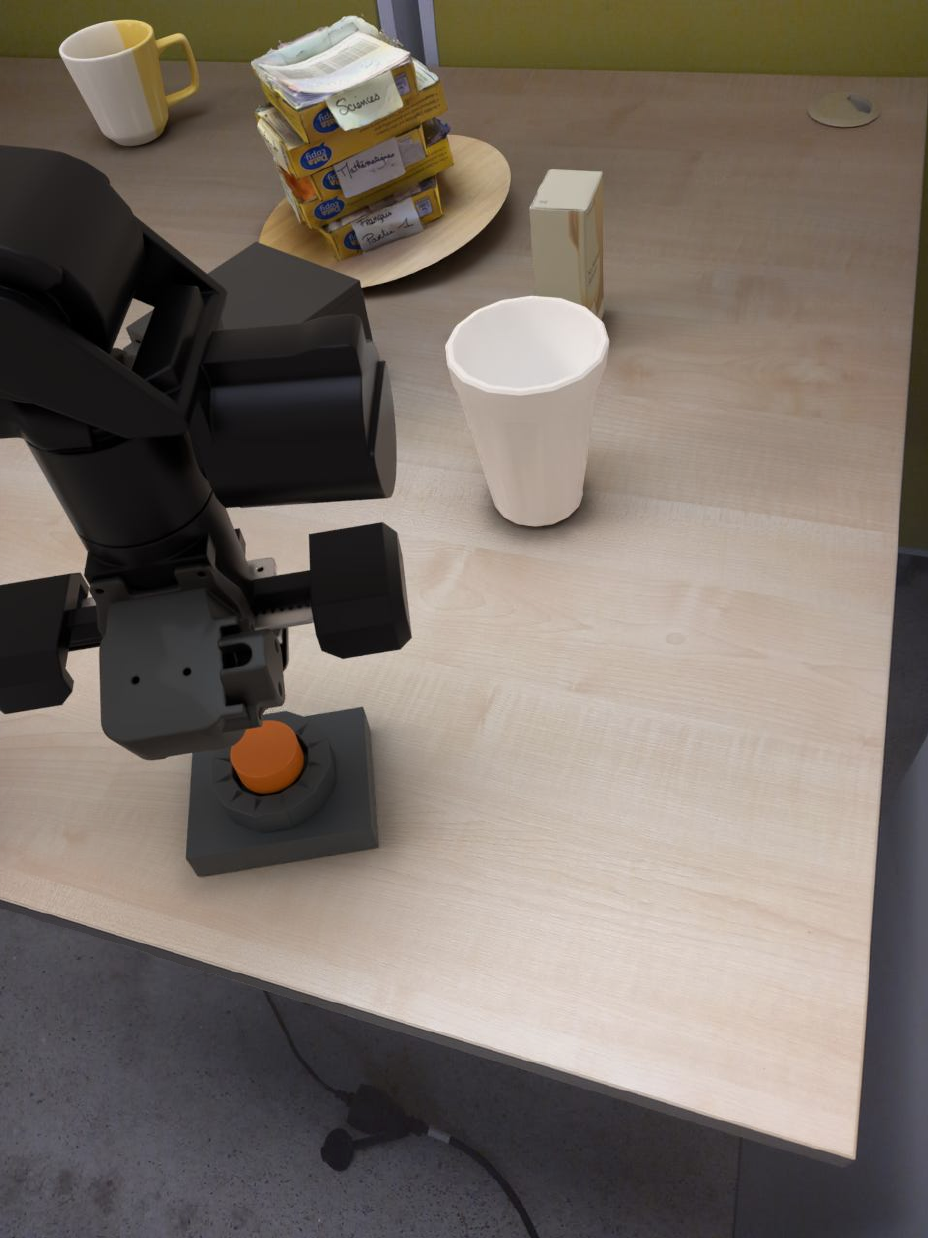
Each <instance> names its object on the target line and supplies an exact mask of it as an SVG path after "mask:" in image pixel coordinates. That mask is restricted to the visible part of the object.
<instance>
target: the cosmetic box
mask: <svg viewBox="0 0 928 1238" xmlns="http://www.w3.org/2000/svg"><path fill="white" fill-rule="evenodd" d="M603 178H604V175H603V171H601V170H579V169H578V170H577V169H559V168H558V169H557V168H551V169H548V170H547V172H546V174H545V176H544V178H543V180H542V182H541V183H540V185H539V187H538V189H537V192H536V193H535V196H534V197H533V200H532V201H531V204H530V206H529V225H530V240H531V242H530V243H531V256H532V271H533V288H534V296H541V297H554V298H562V299H565V300H567V301H570V302H573V303H576V304H579V305H581V306H584V307H586V308H587V309H588V310H590V311H591V312H592V313H593V314H594V315H595V316H596V317H598V318H599V319H600V320H601V321H603V320H602V319H603V317H604V314H605V312H604V311H605V297H604V294H605V293H604V291H605V289H604V285H605V284H604V188H603V187H604V186H603V185H604V184H603V183H604V181H603V180H604V179H603Z"/></svg>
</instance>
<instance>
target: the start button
mask: <svg viewBox="0 0 928 1238" xmlns="http://www.w3.org/2000/svg"><path fill="white" fill-rule="evenodd" d="M230 758H231V762H232V765H233V767H234V768H235V770H236V772H237V774H238V776H239V778H240V780H241V781H242V783H243V784H244V786H245V787H247V788H248V789H249V790H251V791H253V792H256V793H261V794H270V793H275V792H278V791H281V790H283V789H285V788H287V787H288V786H290V785H291V784H292V783H293V782H294V781H295V780H296V779H297V778H298V776H299V775H300V773H301V771H302V768H303V764H304V755H303V752H302V749H301V747H300V745H299V742H298V740H297V738H296V735H295V733H294V731H293V730H292V729H291V728H290V727H289V726H288V725H286V724H284V723H282V722H279V721H273V720H266V721H263V725H262V727H259V728H252V729H246V731H245V734H244V735H243V737H242V739H241V740H240V741H239V742H238V743H236V744H235V745H233V746H232V747H231V753H230Z"/></svg>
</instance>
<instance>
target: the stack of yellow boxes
mask: <svg viewBox="0 0 928 1238" xmlns="http://www.w3.org/2000/svg"><path fill="white" fill-rule="evenodd" d="M360 15H361V16H362V17H365V15H364V14H363V13H361V14H360ZM362 17H358V16H357V15H347V16H342V18H341V19H340V20H338V21H336V22H335V23H333V24H331V26H328V25H326V26H324V27H322V26H320V27H318V28H317V30H314V31H311V32H309V33H305V35H301V36H300V37H297V38H295V39H294V40H291V41H289V42H284V43H283V42H282V41H281V40H280V39H279V40H278V43H279V45H277V49H273V47H270V48H269V50H267V53H265V54H263V55H261V56H259V57H257V58H254V59H253V60H251V61H250V65H251V68H252V71H253V73H254V75H255V78H256V79H257V81H258V84H259V86H260V88H261V90H262V92H263V94H264V95H265V96H266V99H267V102H264V104H263V105H262V104H259V105H258V108H256V109H255V110H254V111H253V114H254V116H255V119H256V121H257V122H256V123H257V124H256V125H257V130H258V132H259V134H260V136H261V137H262V140H263V142H264V143H265V145H266V147H267V149H268V151H269V152H270V153H271V155H272V156H273V163H274V165H275V167H276V170H277V173H278V175H279V178H280V181H281V183H282V187H283V190H284V194H285V196H284V198H282V199H281V201H280V202H279V204H277V205H276V206H275V208H274V209H273V210H272V211H271V214H269V216H268V218H267V219H266V221H265V223H264V225H263V227H262V230H261V231H260V236H259V241H258V242H259V243H261V244H264V245H267V246H269V247H272V248H275V249H277V250H280V251H283V252H285V253H288V254H291V255H294V256H296V257H299V258H302V259H304V260H307V261H310V262H312V263H315V264H318V265H320V266H323V267H326V268H328V269H331V270H334V271H336V272H339V273H342V274H344V275H347V276H350V277H352V278H355V279H358V280H360V283H361V288H362V289H363V288H367V287H373V286H376V285H381V284H384V283H389V282H393V281H396V280H398V279H400V278H403V277H407V276H408V275H411V274H415V273H416V272H418V271H421V270H423V269H424V268H427V267H429V266H432V265H433V264H435V263H438V262H439V261H440V260H442V259H444V258H446V257H448V256H449V255H451V254H453V253H454V252H457V250H459V249H460V248H462V247H463V246H465V245H466V244H467V243H469V242H470V241H472V240H473V239H474V238H475V237H476V236H477V235H479V234H480V233H481V232H482V230H484V229H485V228H486V227H487V225H488V224H489V223H490V222H491V221H492V220H493V219H494V218H495V217H496V215H497V214H498V212H499V211H500V209H501V208H502V206H503V204H504V202H505V200H506V199H507V196H508V194H509V190H510V188H511V187H510V186H511V179H512V176H511V168H510V165H509V163H508V161H507V159H506V157H505V156H504V155H503V154H502V153H501V152H500V151H499V150H498V149H497V148H495V147H494V146H493V145H491V144H489V143H488V142H486V141H483V140H480V139H477V138H473V137H471V136H465V135H458V134H449V133H450V131H451V127H450V124H449V123H448V122H447V121H445V123H443V122H442V120H441V119H438V118H436V117H438V116H440V115H442V114H445V113H446V112H448V110H449V107H448V106H449V105H448V103H447V99H446V95H445V92H444V87H443V83H442V80H441V78H440V77H439V76H437V74H436V73H435V72H433V71H430V70H429V69H428V68H427V66H426V65H425V64H424V63H422V62H421V61H420V60H418V59H417V58H415V57H412V56H411V52H410V51H408V50H406V49H405V48H404V44H403V43H401V41H400V40H399V39H396V38H395V37H393V38H390V37H389V35H387V32H386V31H385V30H383V29H382V28H380V31H379V30H378V28H377V27H376V26H375V25H374V24H370V23H369V22H366V20H364V19H363V18H362ZM393 43H395V44H396V45H394V44H393ZM398 45H399V46H398Z"/></svg>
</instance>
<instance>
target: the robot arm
mask: <svg viewBox="0 0 928 1238" xmlns="http://www.w3.org/2000/svg"><path fill="white" fill-rule="evenodd" d="M133 299H134V300H136V301H138V302H141V303H143V304H146V305H148V306H151V307H153V309H152V310H153V312H152V314H151V317H150V320H149V322H148V325H147V328H146V330H145V333H144V336H143V338H142V341H141V344H140V346H139V349H138V352H137V354H136V356H130V355H128V354H127V353H126V352H125V351H123V348H122V349H121V348H119V347H114V346H115V344H116V341H117V339H118V337H119V333H120V331H121V328H122V326H123V324H124V321H125V318H126V317H127V313H128V312H129V309H130V307H131V305H132V302H133ZM227 299H228V293H227V291H226V289H225V288H224V287H223V286H222V285H220V284H219V283H218V282H217V281H215V280H214V279H213V278H212V277H210V276H209V275H208V273H207V272H205V270H203V269H202V268H200V267H199V266H198V265H197V264H195V263H194V262H193V261H192V260H191V259H190V258H188V257H187V256H185V254H183V253H182V252H181V251H179V249H177V248H176V247H175V246H174V245H172V244H171V243H169V242H168V241H167V240H165V238H163V237H162V236H161V235H159V234H158V233H157V232H156V231H154V230H153V229H152V228H151V227H150V226H149V225H148V224H146V223H145V222H143V221H142V220H141V219H140V218H139V217H137V216H136V215H135V214H134V212H133V211H132V209H131V207H130V206H129V204H127V202H126V201H125V200H124V199H123V198H122V196H120V194H119V193H118V192H117V190H115V188H114V187H113V186H112V185H111V180H110V177H108V176H107V175H106V173H104V172H102V171H101V170H99V168H97V167H95V166H94V165H92V164H91V163H89V162H87V161H85V160H83V159H80V158H79V157H75V156H73V155H71V154H69V153H66V152H64V151H63V152H62V151H58V150H55V149H54V150H53V149H48V148H40V147H31V146H29V147H28V146H17V145H7V144H0V440H4V439H22V440H24V442H25V444H26V446H27V447H28V449H29V451H30V452H31V454H32V457H33V458H34V460H35V461H36V463H37V465H38V467H39V469H40V471H41V472H42V474H43V475H44V477H45V479H46V481H47V483H48V484H49V486H50V488H51V490H52V491H53V494H54V495H55V497H56V499H57V500H58V502H59V504H60V506H61V507H62V509H63V511H64V513H65V514H66V516H67V518H68V521H69V522H70V523H71V526H72V527H73V529H74V531H75V532H76V534H77V536H78V538H79V539H80V541H81V543H82V545H83V546H84V548H85V551H86V552H87V555H86V561H85V566H84V572H83V574H82V572H71V573H65V574H60V575H58V574H57V575H52V576H45V577H39V578H34V579H28V580H22V581H16V582H9V583H4V584H0V712H1V713H2V714H3V715H10V714H16V713H17V714H18V713H23V712H29V711H35V710H40V709H47V708H54V707H59V706H63V705H64V704H65V702H66V701H67V700H68V699H69V698H70V696H71V695H72V693H74V686H75V680H74V678H73V677H72V675H71V674H70V673H69V671H68V670H67V668H66V667H67V663H68V657H69V653H71V652H77V651H83V650H89V649H95V648H99V649H98V662H99V663H98V664H99V665H98V667H99V697H100V698H99V700H100V701H99V702H100V703H99V704H100V727H101V730H102V731H103V733H104V735H105V736H106V737H107V738H108V739H109V740H111V741H112V742H114V743H116V744H117V745H119V746H120V747H122V748H124V749H125V750H126V751H129V753H131V754H133V755H135V756H137V757H138V758H140V759H142V760H145V761H159V760H165V759H167V758H171V757H175V756H182V755H188V754H192V753H195V752H201V751H207V750H213V751H214V750H221V749H226V748H230V747H232V746H233V745H235V744H236V743H238V742H239V741H240V740H241V739H242V737H243V735H244V734H245V731H246V729H252V728H259V727H262V725H263V714H265V712H266V710H268V709H273V708H278V707H283V706H284V704H285V703H286V687H285V685H286V684H285V676H284V675H285V674H284V672H285V671H286V669H287V668H288V665H289V662H290V645H289V643H290V641H289V639H290V637H289V635H290V633H289V628H292V627H298V626H304V625H309V624H313V625H314V631H315V637H316V639H317V642H318V645H319V649H320V651H321V652H323V653H326V654H329V655H331V656H334V657H336V658H339V659H341V660H345V659H351V658H358V657H365V656H370V655H377V654H381V653H388V652H389V653H390V652H396V651H401V650H402V649H403V648H404V647H405V645H407V644H408V643H409V641H411V640H412V638H413V635H412V625H411V619H410V618H411V617H410V608H409V600H408V591H407V583H406V572H405V564H404V556H403V551H402V547H401V543H400V537H399V534H398V531H396V530H395V529H394V528H392V527H391V526H389V525H388V524H387V523H386V522H383V521H380V522H374V523H368V524H367V523H366V524H361V525H356V526H355V525H354V526H350V527H344V528H343V527H342V528H338V529H331V530H325V531H320V532H313V533H308V547H309V548H308V553H309V555H308V557H309V569H307V570H301V571H296V572H289V573H284V574H277V573H278V572H277V563H276V560H275V558H274V557H272V556H271V557H269V556H267V557H261V558H255V559H251V560H247V558H246V551H247V550H246V548H247V547H246V546H247V543H246V541H245V538H244V535H243V533H242V530H241V527H238V528H234V525H233V522H232V520H231V517H230V515H229V512H228V509H233V508H234V509H235V508H240V509H251V508H264V507H278V506H279V507H281V506H294V505H295V506H297V505H308V504H322V503H337V502H338V503H339V502H340V503H341V502H352V501H354V502H355V501H365V500H366V501H368V500H384V499H390V498H392V497H393V494H394V492H395V486H396V481H397V466H398V465H397V464H398V462H397V461H398V453H397V451H398V449H397V443H398V442H397V428H396V425H397V424H396V414H395V404H394V397H393V389H392V384H391V377H390V372H389V367H388V362H387V360H381V357H380V353H379V350H378V348H377V346H376V344H375V342H374V340H373V341H372V340H371V339H368V340H366V339H365V334H364V330H363V325H362V320H361V318H360V317H358V316H357V315H355V314H345V315H333V316H325V317H319V318H316V319H313V320H310V321H307V322H304V323H298V324H288V325H276V326H264V327H253V328H241V329H229V330H225V329H224V326H223V323H222V320H221V319H222V315H223V312H224V309H225V305H226V302H227ZM89 594H90V595H91V596H90V597H89Z"/></svg>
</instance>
